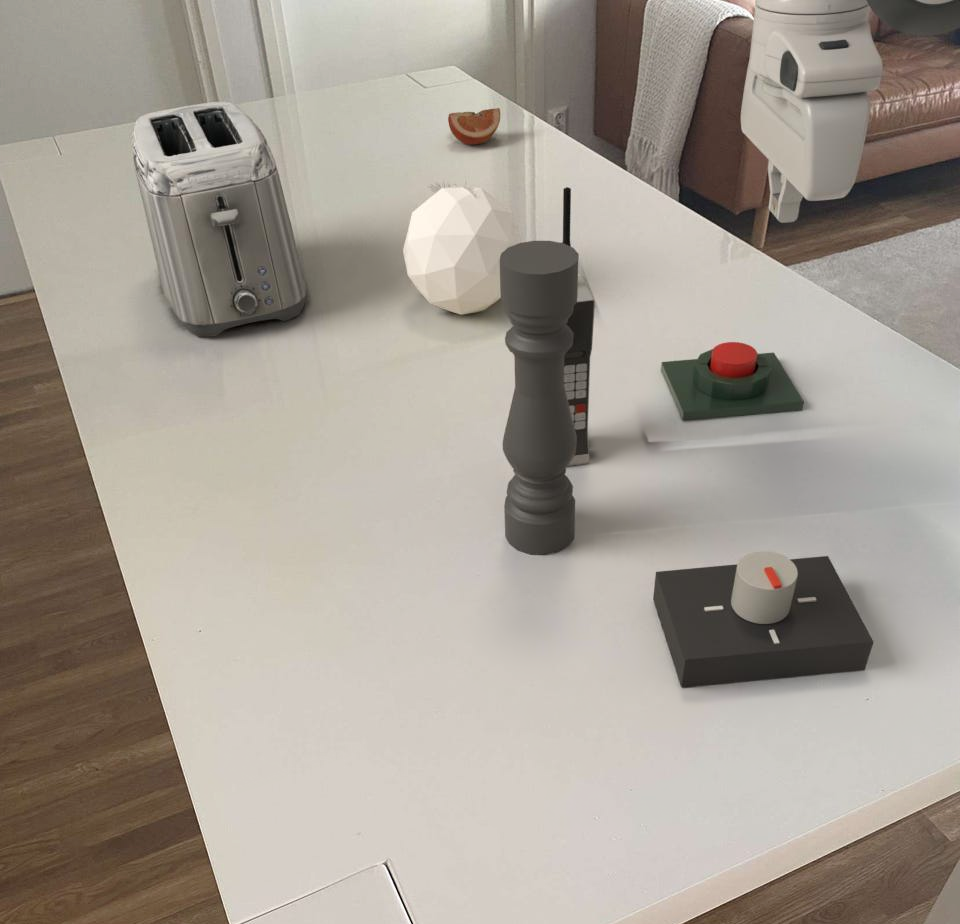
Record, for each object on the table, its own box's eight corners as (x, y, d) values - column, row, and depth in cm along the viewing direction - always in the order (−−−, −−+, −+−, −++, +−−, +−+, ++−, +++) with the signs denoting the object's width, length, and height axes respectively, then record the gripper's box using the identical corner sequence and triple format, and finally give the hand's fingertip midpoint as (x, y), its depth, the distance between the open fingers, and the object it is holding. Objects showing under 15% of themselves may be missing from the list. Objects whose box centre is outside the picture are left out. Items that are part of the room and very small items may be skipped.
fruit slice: (496, 134, 165) (494, 101, 161) (506, 147, 160) (505, 113, 157) (446, 140, 164) (444, 107, 160) (455, 154, 159) (453, 120, 155)
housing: (770, 370, 107) (776, 336, 105) (800, 421, 100) (807, 385, 98) (659, 380, 107) (662, 345, 104) (681, 431, 100) (685, 395, 97)
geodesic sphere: (353, 258, 118) (400, 171, 106) (429, 217, 126) (481, 131, 114) (438, 356, 119) (494, 281, 107) (508, 309, 127) (567, 233, 115)
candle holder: (579, 551, 87) (588, 272, 70) (508, 558, 87) (499, 279, 70) (569, 508, 92) (575, 236, 74) (501, 514, 91) (492, 242, 74)
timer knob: (723, 589, 78) (729, 551, 76) (777, 582, 79) (786, 544, 76) (741, 627, 75) (749, 589, 73) (798, 620, 76) (807, 582, 73)
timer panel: (820, 583, 83) (828, 553, 81) (864, 670, 76) (874, 640, 74) (652, 599, 82) (655, 569, 80) (681, 688, 75) (685, 658, 73)
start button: (747, 355, 103) (750, 340, 102) (760, 377, 100) (762, 361, 98) (705, 359, 103) (707, 343, 101) (716, 381, 100) (718, 365, 98)
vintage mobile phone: (551, 470, 96) (552, 203, 79) (540, 441, 100) (539, 181, 82) (589, 465, 96) (599, 198, 79) (577, 437, 100) (584, 176, 83)
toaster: (179, 354, 116) (133, 183, 103) (154, 255, 136) (112, 101, 123) (322, 326, 119) (294, 157, 106) (276, 233, 140) (248, 82, 126)
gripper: (732, 19, 89) (717, 181, 99) (809, 79, 74) (783, 264, 84) (802, 13, 90) (780, 175, 99) (893, 71, 75) (857, 256, 84)
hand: (782, 216), depth 91 cm, fingers closed
